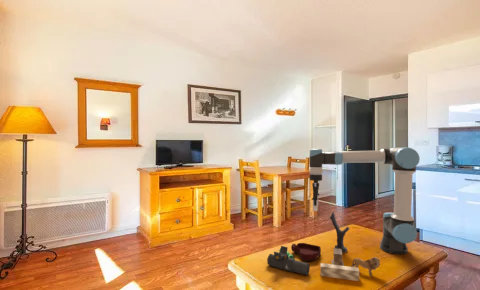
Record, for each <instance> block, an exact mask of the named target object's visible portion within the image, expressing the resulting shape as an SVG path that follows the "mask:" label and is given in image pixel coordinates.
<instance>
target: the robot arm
mask: <svg viewBox="0 0 480 290" xmlns="http://www.w3.org/2000/svg"><path fill="white" fill-rule="evenodd" d="M351 163H354V164H355V163H357V164H358V163H359V164H360V163H361V164H363V163H366V164H367V163H369V164H370V163H381V164H382V165H392V169H391V170H392V171H393V172H394V174H395V175H394V198H393V199H394V203H393V204H394V205H393V212H388V211H387V212H384V213H383V216H382V230H383V231H382V237H381V240H380V243H379V248H380V249H381V250H382V251H384V252H385V253H389V254H392V255H394V254H395V255H405V254H408V246H407V244H410V243H413V241H415V240H416V239H417V236H418V232H417V229H416V227H415V218H414V217H413V216H412V205H413V204H412V199H413V198H412V196H413V174H415V173H416V171H417V166H418V165H419V164H420V154H419V153H418V151H416V149H414V148H411V147H407V146H395V147H390V148H389V147H388V148H381V149H380V150H347V151H345V150H343V151H341V150H340V151H333V150H331V151H325V152H324V151H323V149H322V148H311V149H309V168H308V171H309V180H310V181H313V182H312V198H311V200H312V211H313V212H318V211H319V209H318V206H319V196H320V193H319V189H320V182H321V181H323V165H330V166H331V165H332V166H334V165H335V166H338V165H339V166H340V165H343V164H351Z"/></svg>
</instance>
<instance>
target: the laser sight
mask: <svg viewBox="0 0 480 290" xmlns="http://www.w3.org/2000/svg"><path fill="white" fill-rule="evenodd" d="M280 248H281V249H280ZM280 248H279V250H280V252H279V251H274V252H273V254H272V253H269V255H268V256H267V259H266V260H267V265H268V266H271V267H272V268H276V269H278V270H279V269H280V270H282V271H283V270H284V271H286V272H290V273H297V274H300V275H301V274H302V275H305V276H308V275H309V273H310V268H311V267H310V263H308V262H305V261H300V260H296V259H295V258H294V259H293V258H289V254H287V251H288V246H284V245H280Z"/></svg>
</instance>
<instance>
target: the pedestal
mask: <svg viewBox="0 0 480 290" xmlns="http://www.w3.org/2000/svg"><path fill="white" fill-rule="evenodd" d="M331 264H332V265H340V266H345V265H344V261H343V253H342V250H341V249H337V248H335V247H334V248H333V259H331Z"/></svg>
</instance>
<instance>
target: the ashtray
mask: <svg viewBox="0 0 480 290" xmlns="http://www.w3.org/2000/svg"><path fill="white" fill-rule="evenodd" d="M290 248H291V251H292V252H293V253H294V254H296V255H298V256H299V257H300V258H301V260H303V262H305V263H308V262H310V261H311V262H312V261H315V260H316V259H318V258H319V256H321V253H322V250H321V249H322V248H321V246H320V245H317V244H316V245H315V244H311V243H306V242H299V243H297V244H296V243H292V244H291V247H290Z"/></svg>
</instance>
